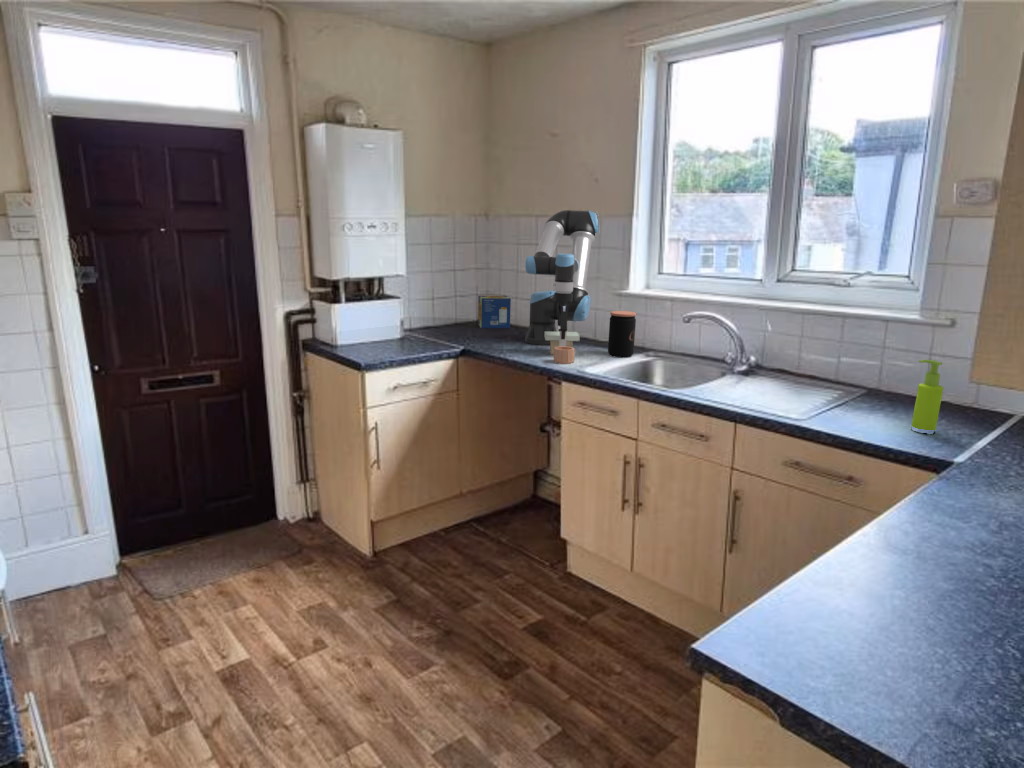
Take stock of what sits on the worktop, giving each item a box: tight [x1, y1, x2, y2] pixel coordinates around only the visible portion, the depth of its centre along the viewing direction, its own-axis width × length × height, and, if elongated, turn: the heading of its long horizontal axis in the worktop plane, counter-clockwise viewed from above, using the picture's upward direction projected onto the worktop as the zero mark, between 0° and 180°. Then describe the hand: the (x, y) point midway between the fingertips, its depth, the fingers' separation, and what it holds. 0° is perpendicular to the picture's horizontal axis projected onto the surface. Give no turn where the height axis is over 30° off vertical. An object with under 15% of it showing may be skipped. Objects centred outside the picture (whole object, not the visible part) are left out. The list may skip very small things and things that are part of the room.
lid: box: [544, 331, 581, 342], centre depth 279 cm, size 10×14×2 cm
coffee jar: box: [607, 310, 637, 358], centre depth 279 cm, size 11×11×18 cm
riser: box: [549, 340, 574, 356], centre depth 280 cm, size 6×9×6 cm, turn 90°
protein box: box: [477, 295, 512, 329], centre depth 344 cm, size 10×15×16 cm
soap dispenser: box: [911, 359, 944, 430], centre depth 185 cm, size 6×7×20 cm
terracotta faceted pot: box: [553, 346, 576, 365], centre depth 265 cm, size 8×8×6 cm
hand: (561, 344), depth 280 cm, fingers open, 12 cm apart
